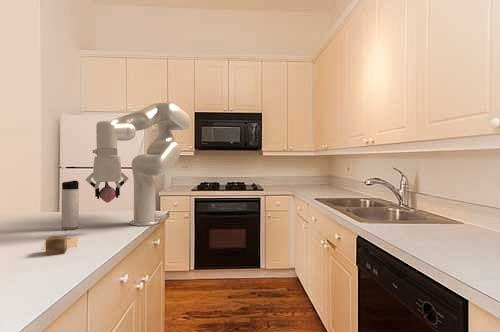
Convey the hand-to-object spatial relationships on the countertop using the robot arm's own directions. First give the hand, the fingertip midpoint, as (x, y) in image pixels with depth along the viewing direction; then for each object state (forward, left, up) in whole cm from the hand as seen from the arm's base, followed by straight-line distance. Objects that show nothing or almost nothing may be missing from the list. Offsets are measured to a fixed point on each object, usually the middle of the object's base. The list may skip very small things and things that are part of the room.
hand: (107, 197), depth 133 cm
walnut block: (+16, +25, -14) cm, 33 cm away
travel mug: (+13, -15, -14) cm, 24 cm away
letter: (+15, +12, -14) cm, 24 cm away
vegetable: (0, 0, -2) cm, 2 cm away
